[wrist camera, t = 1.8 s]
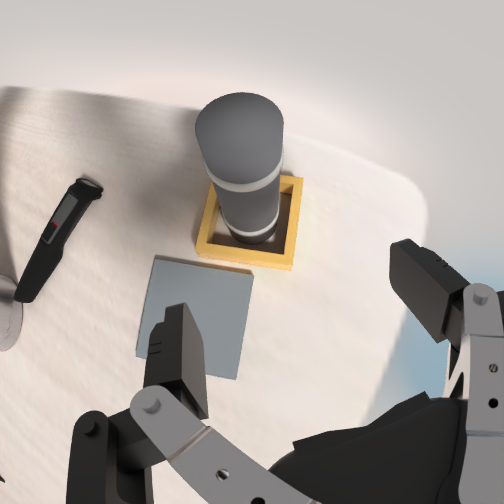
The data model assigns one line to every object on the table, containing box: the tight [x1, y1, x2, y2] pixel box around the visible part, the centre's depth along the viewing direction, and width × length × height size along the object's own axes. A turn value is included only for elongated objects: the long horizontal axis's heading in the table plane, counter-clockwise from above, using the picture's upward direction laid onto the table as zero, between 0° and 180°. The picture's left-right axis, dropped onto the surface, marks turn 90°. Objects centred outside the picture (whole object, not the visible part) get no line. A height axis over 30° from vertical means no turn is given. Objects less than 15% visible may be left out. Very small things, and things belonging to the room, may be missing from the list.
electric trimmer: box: [13, 178, 103, 303], centre depth 28 cm, size 4×16×3 cm, turn 149°
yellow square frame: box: [195, 175, 303, 271], centre depth 27 cm, size 8×8×2 cm
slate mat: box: [136, 259, 254, 380], centre depth 26 cm, size 9×9×1 cm
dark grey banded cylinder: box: [195, 92, 284, 245], centre depth 21 cm, size 5×5×14 cm
